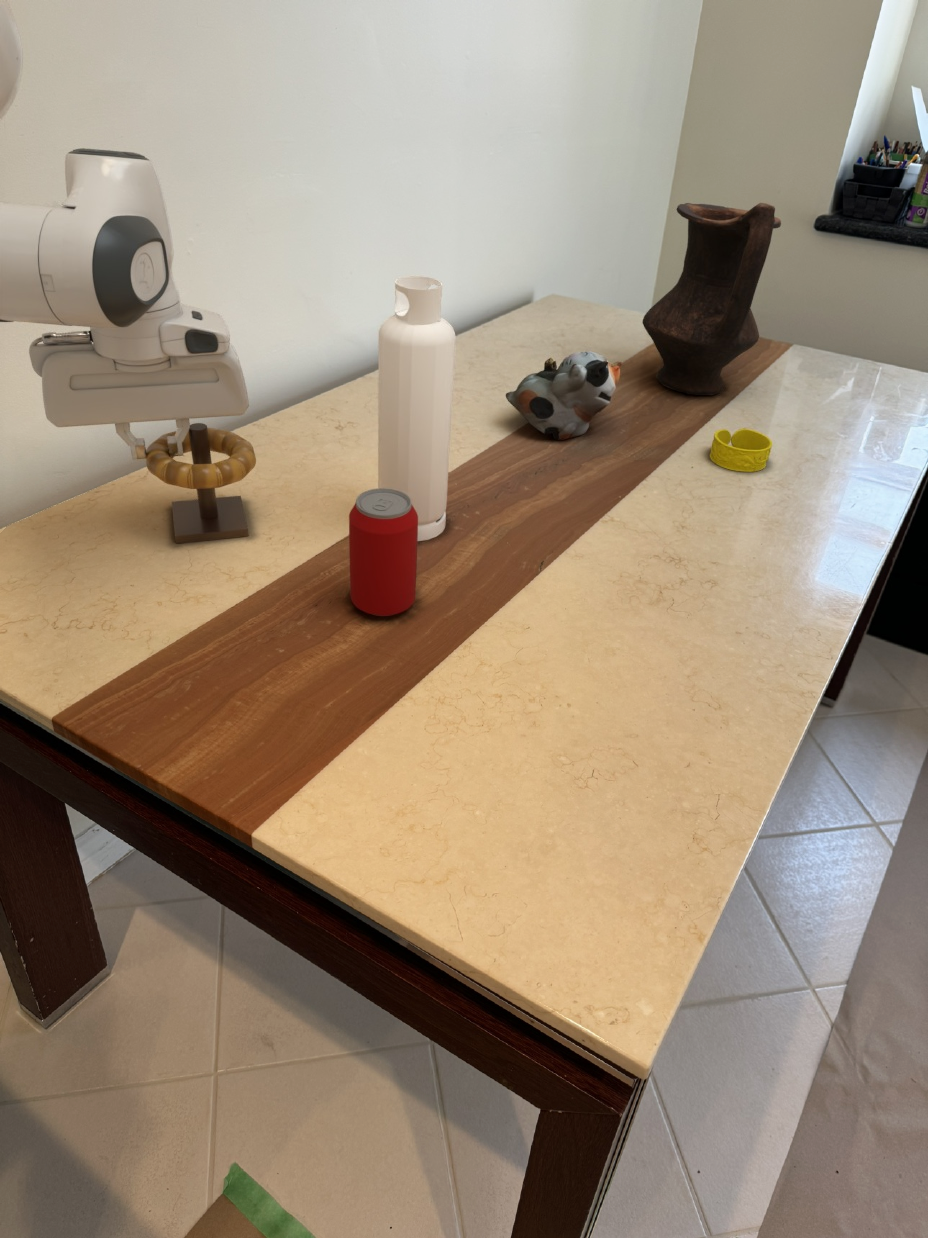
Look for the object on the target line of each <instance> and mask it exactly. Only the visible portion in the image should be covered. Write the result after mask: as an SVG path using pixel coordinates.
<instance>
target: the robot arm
mask: <svg viewBox="0 0 928 1238" xmlns="http://www.w3.org/2000/svg"><path fill="white" fill-rule="evenodd" d="M18 28H19V27H18V25H17V21H16V20H15V16H14V13H13V11H12V9H11V6H10V4H9V2H8V0H0V122H1V121H2V120H3V118H4V117H5V116H6V115H7V113H8V112H9V110H10V109H11V107H12V105H13V103H14V101H15V99H16V97H17V94H18V91H19V88H20V85H21V80H22V75H23V64H24V63H23V62H24V60H23V59H24V58H23V55H24V54H23V53H24V52H23V44H22V39H21V35H20V32H19V29H18ZM64 157H65V158H64V176H65V190H66V191H65V192H66V199H65V200H64V201H63V202H61V205H57V206H55V205H45V204H33V203H21V202H11V201H10V202H9V201H8V202H7V201H1V200H0V323H13V322H16V323H17V322H19V323H29V324H30V323H31V324H43V325H55V326H67V327H83V328H89V330H79V331H78V330H77V331H69V332H54V331H53V332H51V331H50V332H45V333H42V334H41V336H39V337H38V338H35V339H34V340H33V341H32V342H31V343H30V345H29V348H28V354H29V358H30V363H31V367H32V369H33V371H34V372H35V373H36V374H37V375H38V376H39V377H40V378H41V390H42V400H43V401H42V402H43V408H44V414H45V418H46V420H47V421H48V422H49V423H51V425H53V426H54V427H56V428H69V427H70V428H71V427H85V426H103V425H114V427H115V432H116V434H117V435H118V436H119V437H120V438H121V439H122V441H124V443H125V444H126V445H127V446H128V447H130V454H131V458H132V459H131V460H132V461H134V460H146V458H147V453H146V450H147V447H146V442H145V438H144V437H139V438H138V437H136V435H134V434H133V433H132V432H131V423H147V422H160V421H175V425H176V428H177V429H176V430H175V431H176V434H175V436H167V440H168V448H169V454H170V457H174V456H175V457H184V454H183V447H182V442H183V441H184V439H185V437H186V435H187V433H188V431H189V429H190V425H191V423H190V419H192V420H193V419H205V418H220V417H235V416H236V417H237V416H242V415H244V414H245V413H246V411H247V410H248V409H249V407H250V403H249V395H248V389H247V385H246V379H245V376H244V372H243V368H242V366H241V362H240V359H239V356H238V353H237V351H236V349H235V347H234V345H233V344H232V343H231V334H230V330H229V326H228V324H227V322H226V320H225V318H224V317H223V315H221V314H220V313H218V312H214V311H210V310H207V309H203V308H198V307H195V306H191V305H188V304H185V303H181V297H180V292H179V289H178V287H177V285H176V281H175V279H174V275H173V261H174V257H175V256H174V254H175V252H174V244H173V237H172V230H171V224H170V223H171V222H170V219H169V218H170V217H169V213H168V209H167V204H166V199H165V195H164V192H163V188H162V184H161V181H160V178H159V175H158V172H157V169H156V167H155V164H154V162H153V161H152V160H150V159H149V158H147V157H146V156H145V155H142V154H140V153H137V152H134V151H133V152H131V151H119V150H109V149H98V148H97V149H96V148H84V147H83V148H75V149H73V150H71V151H69V152H67V153H65V156H64ZM175 457H174V458H175Z"/></svg>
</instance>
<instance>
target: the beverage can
mask: <svg viewBox="0 0 928 1238" xmlns="http://www.w3.org/2000/svg"><path fill="white" fill-rule="evenodd" d="M348 537H349V538H348V545H349V547H348V548H349V553H348V554H349V587H350V589H349V591H350V600H351V602H352V604H353V605H354V606H355V607H356V608H357V609H358V610H360V611H362V612H363V613H366V614H369V615H373V616H377V617H389V616H390V617H391V616H394V615H397V614H401V613H404V612H405V611H407V610H408V609H409V608H411V607H412V605H413V604H414V603H415V601H416V589H417V569H418V568H417V567H418V542H419V541H418V515H417V512H416V511H415V509H414V507H413V505H412V504H411V499H410V498H409V496H408V495H406V494H405V493H403V492H401V491H398V490H394V489H388V488H378V487H377V488H372V489H368V490H365V491H364V492H361V493H360V494H359V495H358V496H357V497H356V499H355V503H354V505H353V506H352V508H351V510H350V512H349V515H348Z"/></svg>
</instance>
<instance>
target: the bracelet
mask: <svg viewBox="0 0 928 1238" xmlns="http://www.w3.org/2000/svg"><path fill="white" fill-rule="evenodd" d="M729 444H730V445H729ZM772 447H773V441H772V440H771V439H770V437H768V436H767V435H766V434H763V433H762V432H759V431H757V430H754V429H750V428H740V429H738V430H736V431H735V432H734V433H733V434H732V435H731V432H730V430H728V429H725V428H722V429H718V430H716V431H715V432H714V434H713V439H712V443H711V446H710V453H709V459H710V460H711V461H712V462H713V463H714V464H715V465H716V466H719V467H721V468H724V469H726V470H730V471H736V472H744V473H745V472H746V473H748V472H750V473H751V472H759V471H762V470H763V469H765V468H766V466H767V462H768V460H769V457H770V455H771V450H772Z"/></svg>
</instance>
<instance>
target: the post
mask: <svg viewBox="0 0 928 1238" xmlns="http://www.w3.org/2000/svg"><path fill="white" fill-rule="evenodd" d="M207 428H208V425H207V424H205V423H203V422H194V423H190V429H189V438H190V445H191V451H190V453H191V458H192V464H213V463H212V453H211V451H210V445H209V437H208V429H207ZM196 495H197V499H186V500H177V501H175V500H174V501H171V509H172V521H173V532H174V539H175V544H186V543H195V542H205V541H215V540H224V539H234V538H235V539H236V538H244V537H245V538H246V537H249V536H250V533H249V527H248V522H247V517H246V512H245V509H244V504H243V499H242V496H241V495H232V496H221V497H217V495H216V488H206V489H196Z"/></svg>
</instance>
